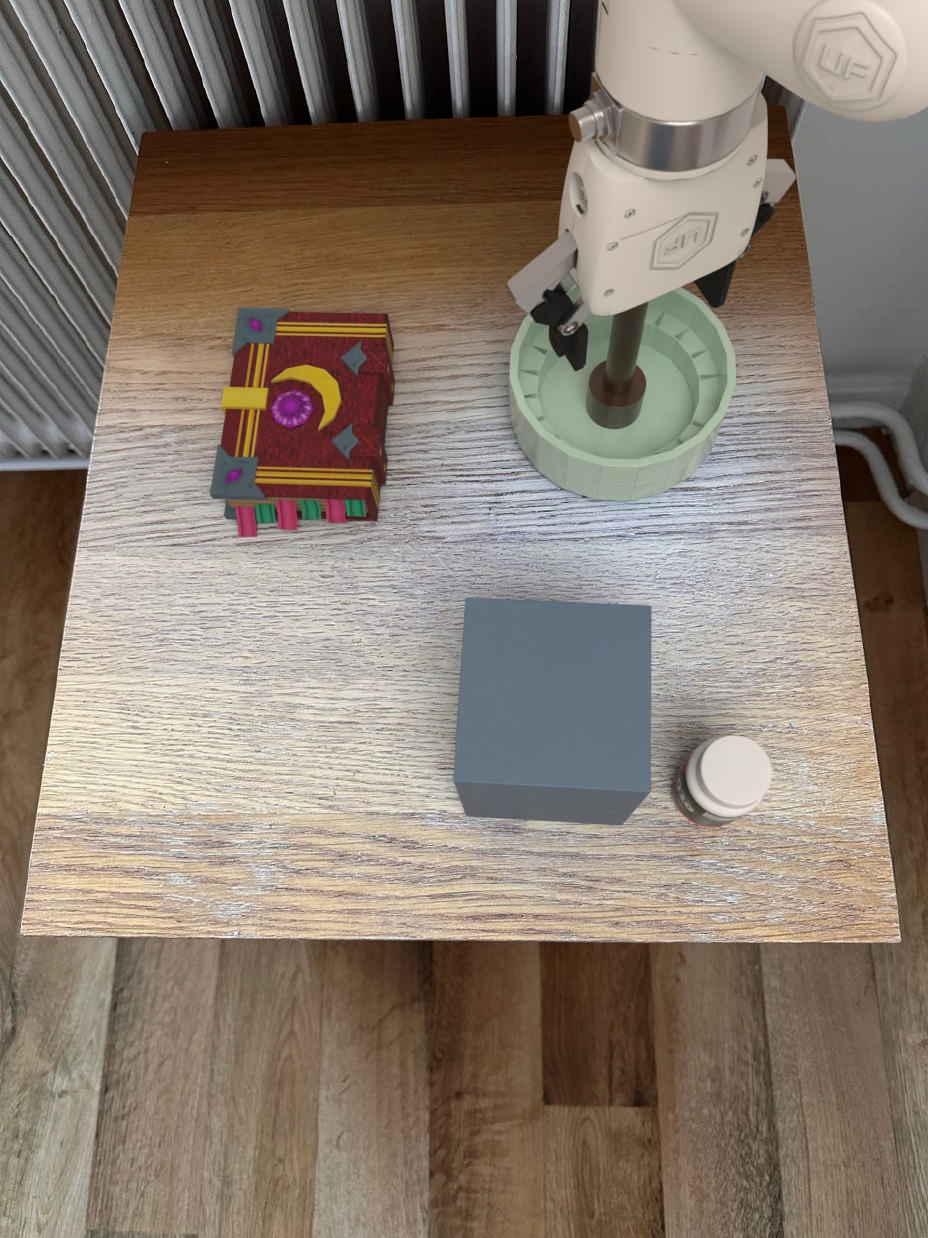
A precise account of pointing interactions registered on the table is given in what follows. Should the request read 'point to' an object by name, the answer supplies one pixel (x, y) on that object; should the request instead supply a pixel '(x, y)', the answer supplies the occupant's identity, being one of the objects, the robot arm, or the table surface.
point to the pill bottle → (722, 781)
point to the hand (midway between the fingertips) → (637, 321)
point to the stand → (554, 710)
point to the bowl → (670, 414)
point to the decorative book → (305, 418)
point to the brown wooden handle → (619, 374)
